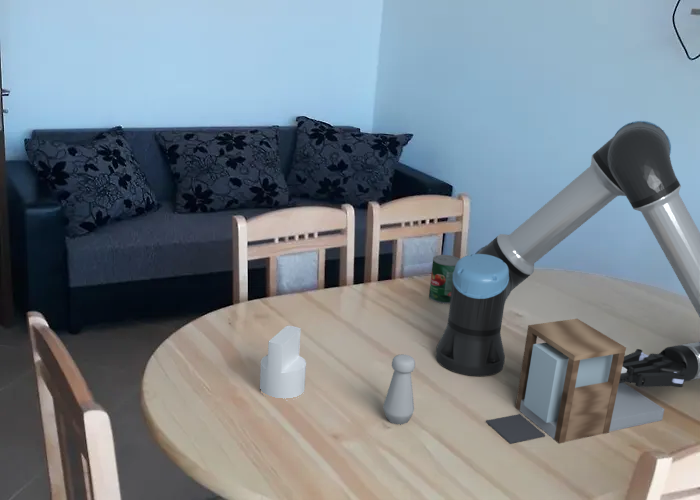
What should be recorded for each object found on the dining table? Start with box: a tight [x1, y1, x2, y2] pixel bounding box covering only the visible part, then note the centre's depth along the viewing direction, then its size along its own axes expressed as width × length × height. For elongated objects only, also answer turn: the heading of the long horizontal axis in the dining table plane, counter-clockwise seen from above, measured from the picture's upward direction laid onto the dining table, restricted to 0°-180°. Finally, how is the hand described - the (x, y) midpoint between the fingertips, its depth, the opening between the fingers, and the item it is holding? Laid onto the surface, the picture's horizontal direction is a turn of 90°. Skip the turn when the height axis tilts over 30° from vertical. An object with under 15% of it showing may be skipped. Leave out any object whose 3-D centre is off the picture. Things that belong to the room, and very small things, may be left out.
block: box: [524, 342, 613, 423], centre depth 149 cm, size 14×7×13 cm, turn 115°
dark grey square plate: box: [485, 413, 546, 445], centre depth 147 cm, size 8×8×1 cm
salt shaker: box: [382, 354, 416, 426], centre depth 146 cm, size 6×6×13 cm
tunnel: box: [514, 318, 627, 444], centre depth 149 cm, size 12×14×18 cm
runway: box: [519, 382, 665, 440], centre depth 155 cm, size 26×13×2 cm, turn 115°
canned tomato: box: [428, 254, 461, 305], centre depth 207 cm, size 8×8×11 cm
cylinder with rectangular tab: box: [259, 325, 307, 399], centre depth 154 cm, size 9×9×12 cm
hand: (598, 378), depth 153 cm, fingers closed
